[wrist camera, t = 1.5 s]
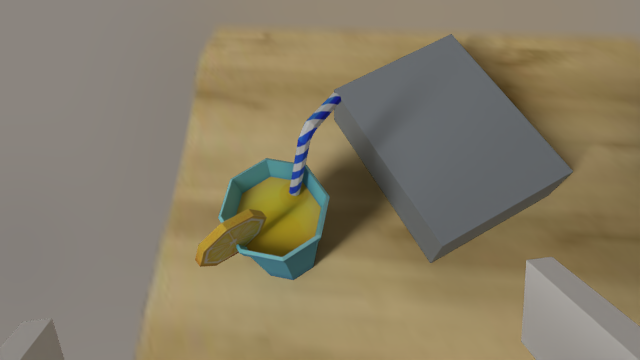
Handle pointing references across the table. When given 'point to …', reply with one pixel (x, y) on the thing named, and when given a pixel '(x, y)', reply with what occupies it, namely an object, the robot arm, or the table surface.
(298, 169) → the cup
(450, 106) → the slate block
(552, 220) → the table surface
